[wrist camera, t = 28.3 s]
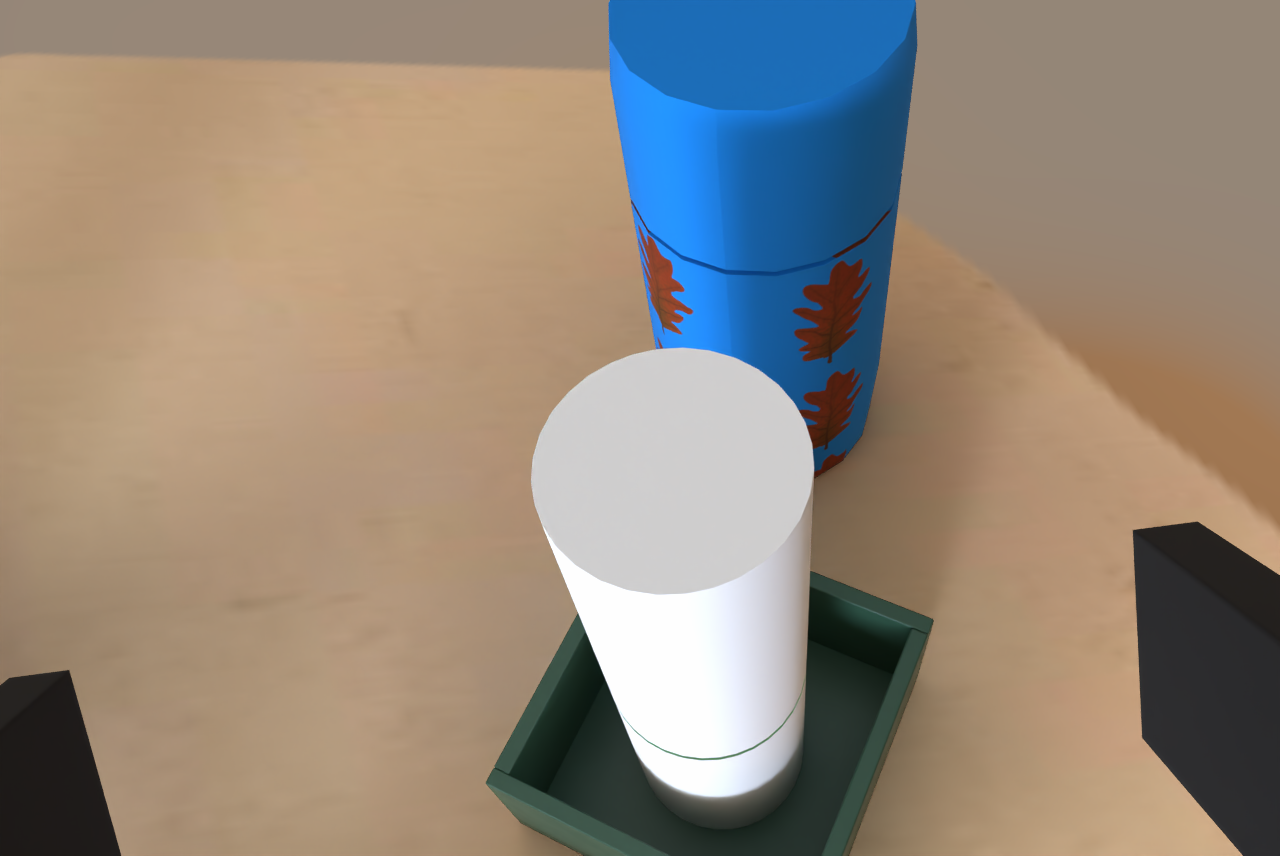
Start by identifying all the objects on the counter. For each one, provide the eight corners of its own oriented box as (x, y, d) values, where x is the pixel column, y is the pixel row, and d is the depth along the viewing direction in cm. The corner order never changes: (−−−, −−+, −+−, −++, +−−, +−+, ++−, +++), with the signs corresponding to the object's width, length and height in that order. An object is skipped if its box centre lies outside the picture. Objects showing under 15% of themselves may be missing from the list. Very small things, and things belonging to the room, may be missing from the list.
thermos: (741, 528, 56) (714, 166, 35) (629, 383, 61) (545, -8, 40) (916, 418, 58) (990, 15, 37) (792, 288, 63) (795, -131, 42)
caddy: (804, 969, 45) (807, 947, 39) (519, 822, 49) (484, 783, 44) (917, 675, 51) (934, 618, 45) (653, 566, 55) (637, 502, 49)
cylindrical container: (771, 647, 52) (759, 317, 30) (827, 800, 48) (857, 543, 27) (622, 694, 51) (505, 392, 30) (666, 851, 47) (567, 632, 26)
